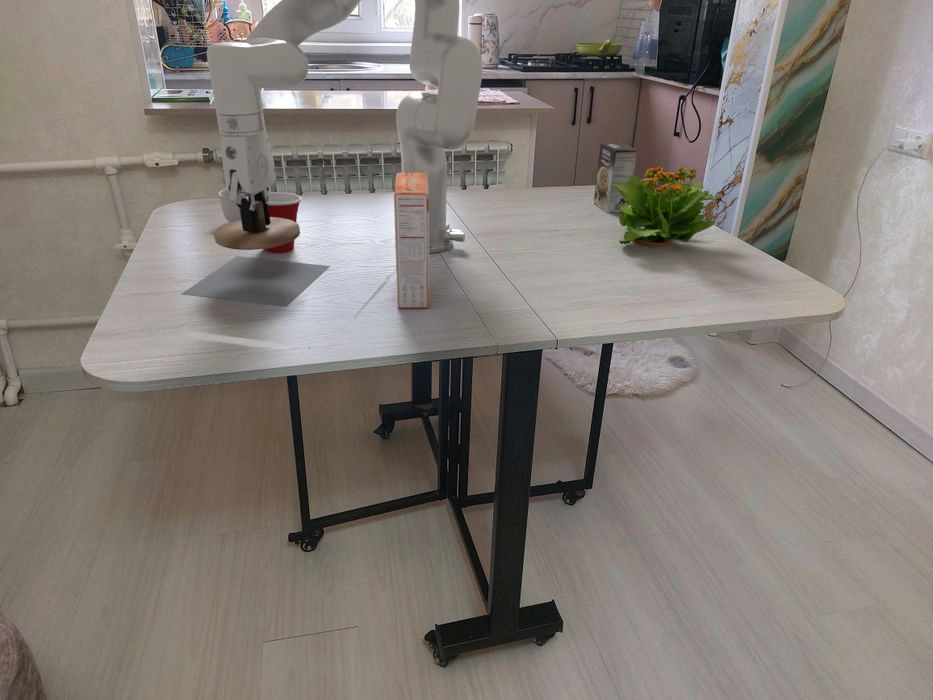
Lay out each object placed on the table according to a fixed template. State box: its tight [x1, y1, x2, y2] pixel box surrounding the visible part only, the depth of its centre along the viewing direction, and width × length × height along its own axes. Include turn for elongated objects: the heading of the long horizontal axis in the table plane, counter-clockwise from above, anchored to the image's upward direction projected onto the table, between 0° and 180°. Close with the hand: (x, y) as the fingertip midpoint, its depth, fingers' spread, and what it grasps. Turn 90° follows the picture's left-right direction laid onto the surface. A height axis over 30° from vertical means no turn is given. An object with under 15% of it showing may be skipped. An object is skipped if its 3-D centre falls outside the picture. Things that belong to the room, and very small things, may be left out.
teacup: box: [218, 187, 247, 223], centre depth 158 cm, size 14×11×8 cm
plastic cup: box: [247, 191, 303, 254], centre depth 140 cm, size 11×11×12 cm
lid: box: [213, 201, 301, 251], centre depth 122 cm, size 15×15×6 cm
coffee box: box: [593, 142, 638, 212], centre depth 176 cm, size 9×6×16 cm
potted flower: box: [611, 166, 717, 249], centre depth 152 cm, size 25×24×18 cm
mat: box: [181, 255, 331, 307], centre depth 127 cm, size 20×20×1 cm
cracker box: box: [393, 171, 430, 309], centre depth 120 cm, size 14×6×21 cm, turn 3°
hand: (257, 226), depth 122 cm, fingers closed on lid, 3 cm apart
